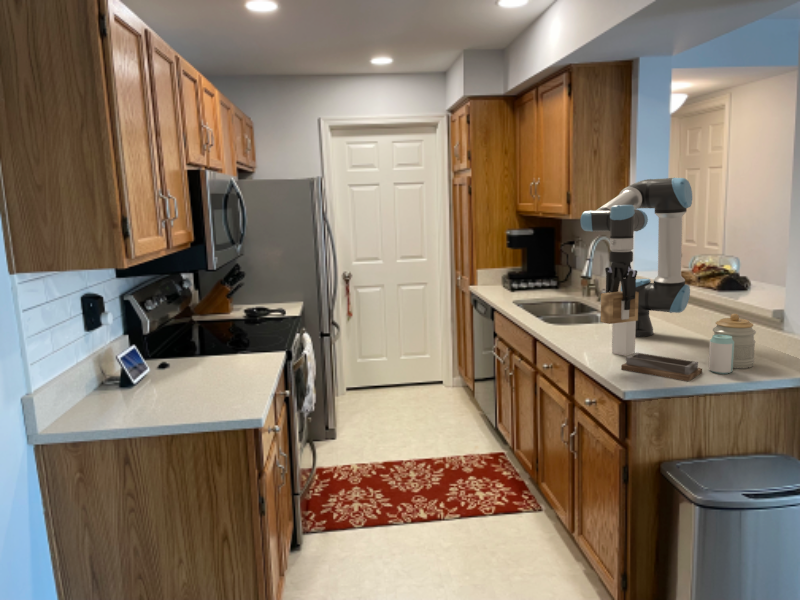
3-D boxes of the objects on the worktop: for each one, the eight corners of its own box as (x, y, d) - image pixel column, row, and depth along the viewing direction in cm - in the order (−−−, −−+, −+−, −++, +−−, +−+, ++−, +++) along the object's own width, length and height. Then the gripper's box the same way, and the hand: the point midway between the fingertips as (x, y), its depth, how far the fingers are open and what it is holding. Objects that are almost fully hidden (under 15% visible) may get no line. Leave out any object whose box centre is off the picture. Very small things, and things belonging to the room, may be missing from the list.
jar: (763, 366, 200) (766, 315, 197) (732, 370, 196) (735, 318, 193) (731, 357, 212) (734, 309, 209) (702, 361, 209) (704, 312, 206)
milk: (625, 356, 219) (627, 297, 215) (611, 353, 224) (612, 295, 220) (635, 353, 223) (636, 295, 219) (620, 350, 228) (622, 293, 224)
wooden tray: (636, 361, 211) (636, 351, 210) (702, 372, 195) (702, 361, 195) (621, 369, 202) (621, 358, 202) (688, 381, 187) (689, 369, 186)
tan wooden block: (600, 321, 206) (601, 293, 205) (628, 318, 210) (629, 290, 208) (609, 324, 202) (610, 295, 200) (638, 320, 206) (639, 292, 204)
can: (704, 371, 197) (706, 336, 195) (714, 367, 201) (716, 332, 199) (726, 376, 191) (728, 339, 189) (736, 371, 195) (738, 336, 193)
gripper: (595, 249, 209) (594, 314, 213) (630, 253, 192) (628, 323, 196) (613, 248, 211) (611, 312, 215) (649, 251, 195) (646, 321, 199)
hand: (619, 317), depth 206 cm, fingers closed on tan wooden block, 5 cm apart
